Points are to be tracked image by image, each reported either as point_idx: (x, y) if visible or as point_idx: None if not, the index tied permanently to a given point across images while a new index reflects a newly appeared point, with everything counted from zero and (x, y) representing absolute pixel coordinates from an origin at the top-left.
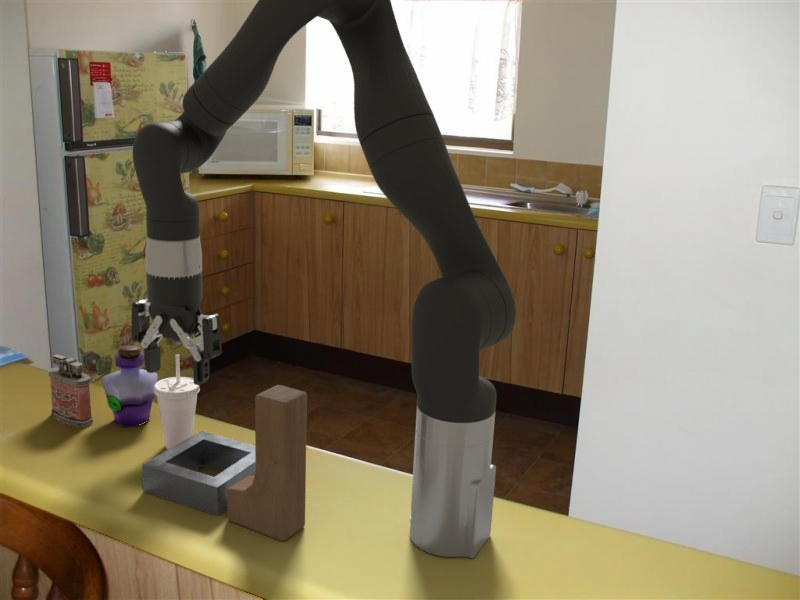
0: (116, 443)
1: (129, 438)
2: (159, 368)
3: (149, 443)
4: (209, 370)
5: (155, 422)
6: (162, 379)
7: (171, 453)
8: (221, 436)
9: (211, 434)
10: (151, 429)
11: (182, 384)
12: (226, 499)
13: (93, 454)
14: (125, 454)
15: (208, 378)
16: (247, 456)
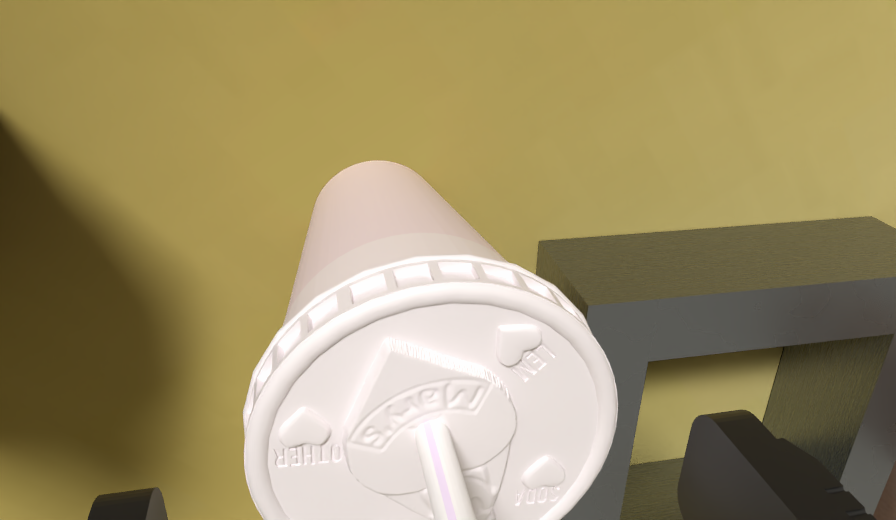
0: (101, 363)
1: (101, 296)
2: (158, 499)
3: (234, 278)
4: (861, 506)
5: (17, 65)
6: (251, 456)
7: (594, 512)
8: (713, 295)
9: (657, 305)
10: (93, 155)
11: (498, 446)
12: None
13: (122, 473)
14: (236, 403)
15: (790, 446)
16: (889, 366)
